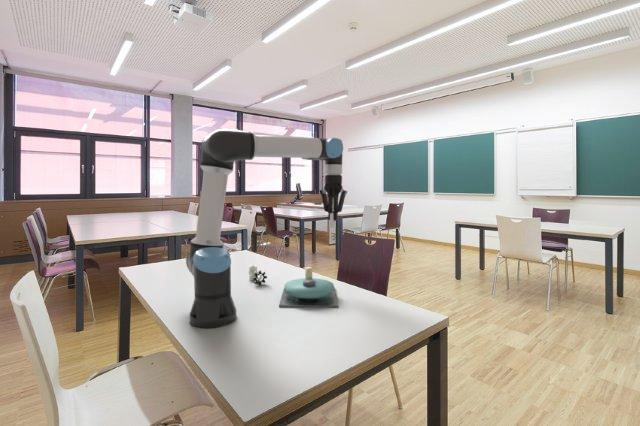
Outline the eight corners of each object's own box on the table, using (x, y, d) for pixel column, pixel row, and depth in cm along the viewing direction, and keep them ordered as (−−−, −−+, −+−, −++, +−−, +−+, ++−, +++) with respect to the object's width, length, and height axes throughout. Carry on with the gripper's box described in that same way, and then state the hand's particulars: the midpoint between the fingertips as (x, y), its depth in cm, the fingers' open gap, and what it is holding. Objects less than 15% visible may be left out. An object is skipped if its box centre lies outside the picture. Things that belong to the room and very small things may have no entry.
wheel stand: (338, 307, 124) (338, 300, 124) (279, 307, 124) (279, 300, 124) (334, 288, 146) (334, 282, 146) (284, 288, 146) (284, 282, 146)
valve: (245, 279, 159) (253, 286, 149) (244, 265, 159) (253, 271, 148) (258, 277, 163) (267, 284, 152) (258, 264, 162) (267, 270, 152)
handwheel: (336, 298, 126) (336, 280, 125) (283, 298, 125) (283, 280, 124) (331, 282, 145) (331, 266, 145) (285, 282, 144) (285, 266, 144)
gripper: (350, 174, 147) (349, 227, 149) (324, 174, 153) (323, 225, 155) (343, 174, 140) (342, 229, 143) (316, 174, 147) (315, 227, 149)
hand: (332, 227), depth 149 cm, fingers closed
